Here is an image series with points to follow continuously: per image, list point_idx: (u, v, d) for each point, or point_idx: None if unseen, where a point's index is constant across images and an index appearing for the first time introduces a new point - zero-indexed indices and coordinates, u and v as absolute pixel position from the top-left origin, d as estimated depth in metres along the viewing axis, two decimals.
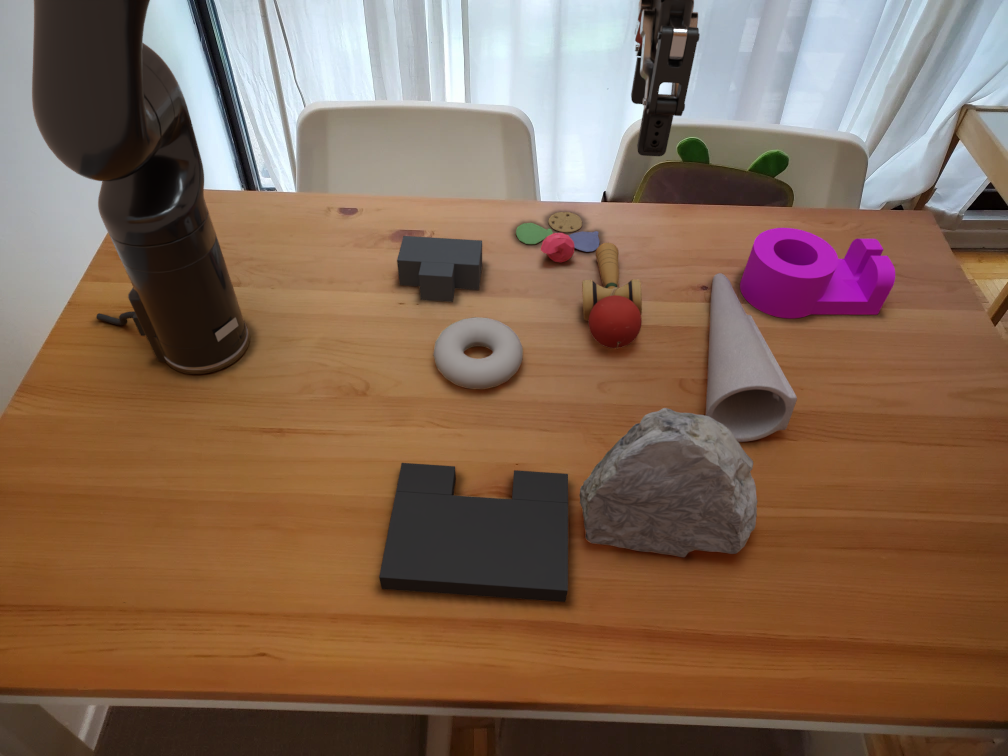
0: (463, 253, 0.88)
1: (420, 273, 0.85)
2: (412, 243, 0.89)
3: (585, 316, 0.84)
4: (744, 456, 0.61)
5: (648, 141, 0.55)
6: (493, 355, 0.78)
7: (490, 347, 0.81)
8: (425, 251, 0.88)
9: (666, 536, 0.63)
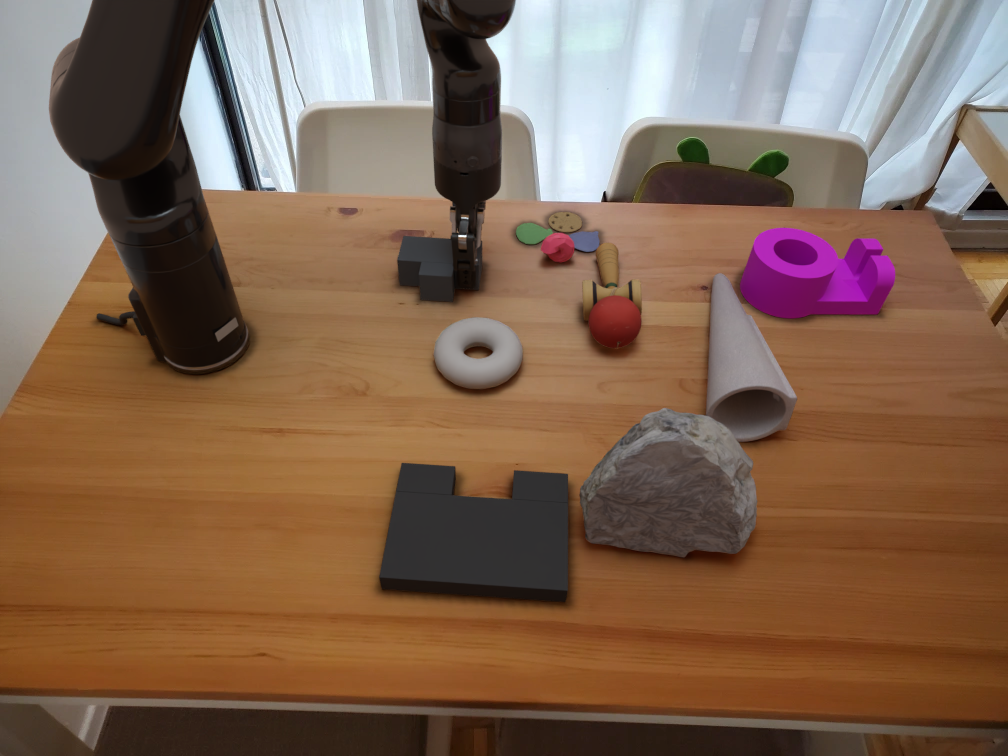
0: None
1: (420, 273, 0.85)
2: (412, 243, 0.89)
3: (585, 316, 0.84)
4: (744, 456, 0.61)
5: (461, 281, 0.87)
6: (493, 355, 0.78)
7: (490, 347, 0.81)
8: (425, 251, 0.88)
9: (666, 536, 0.63)
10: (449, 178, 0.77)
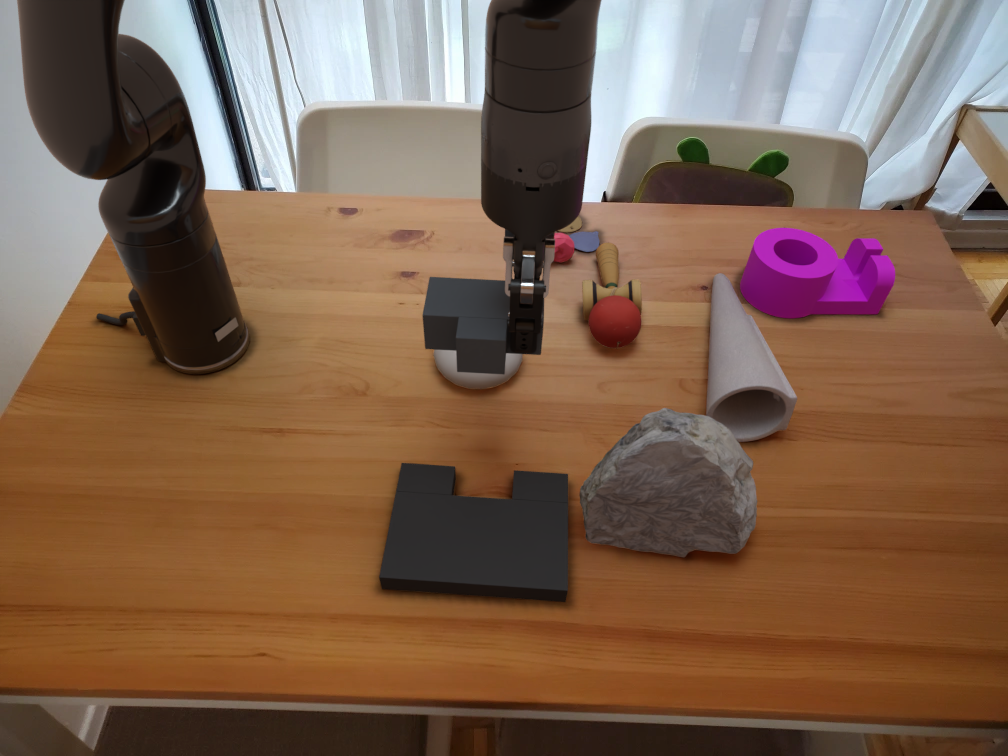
0: None
1: (458, 335, 0.57)
2: (443, 288, 0.61)
3: (585, 316, 0.84)
4: (744, 456, 0.61)
5: (517, 345, 0.59)
6: None
7: None
8: (464, 300, 0.60)
9: (666, 536, 0.63)
10: (508, 196, 0.49)
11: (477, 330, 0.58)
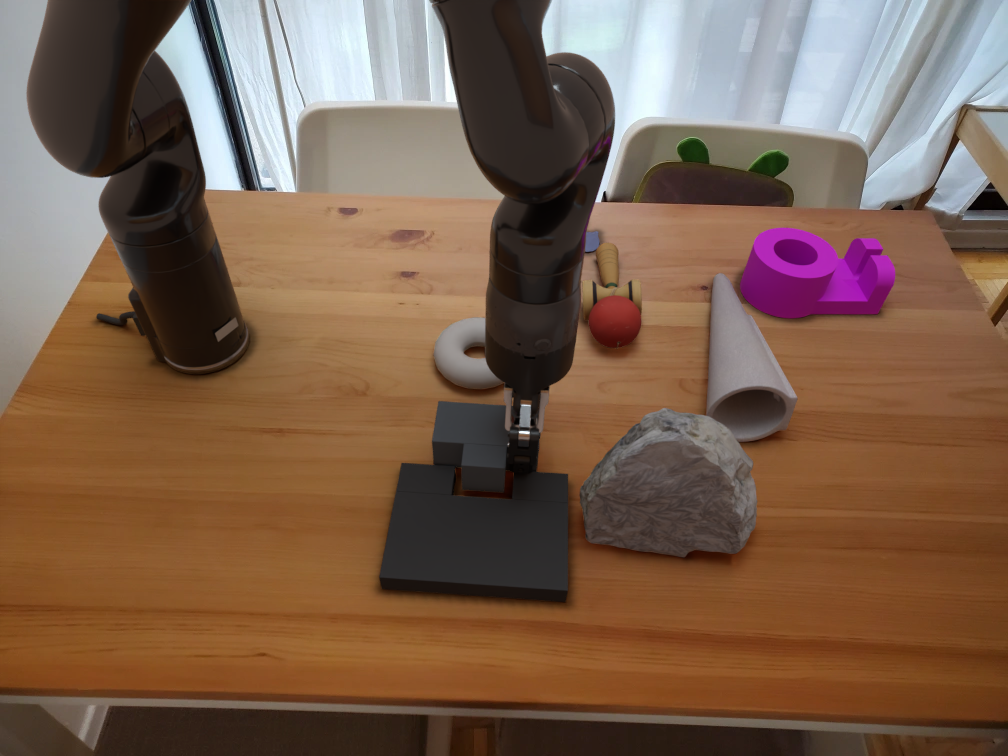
0: None
1: (463, 463, 0.65)
2: (450, 413, 0.69)
3: (585, 316, 0.84)
4: (744, 456, 0.61)
5: (515, 468, 0.67)
6: None
7: None
8: (468, 426, 0.68)
9: (666, 536, 0.63)
10: (508, 361, 0.57)
11: (480, 457, 0.65)
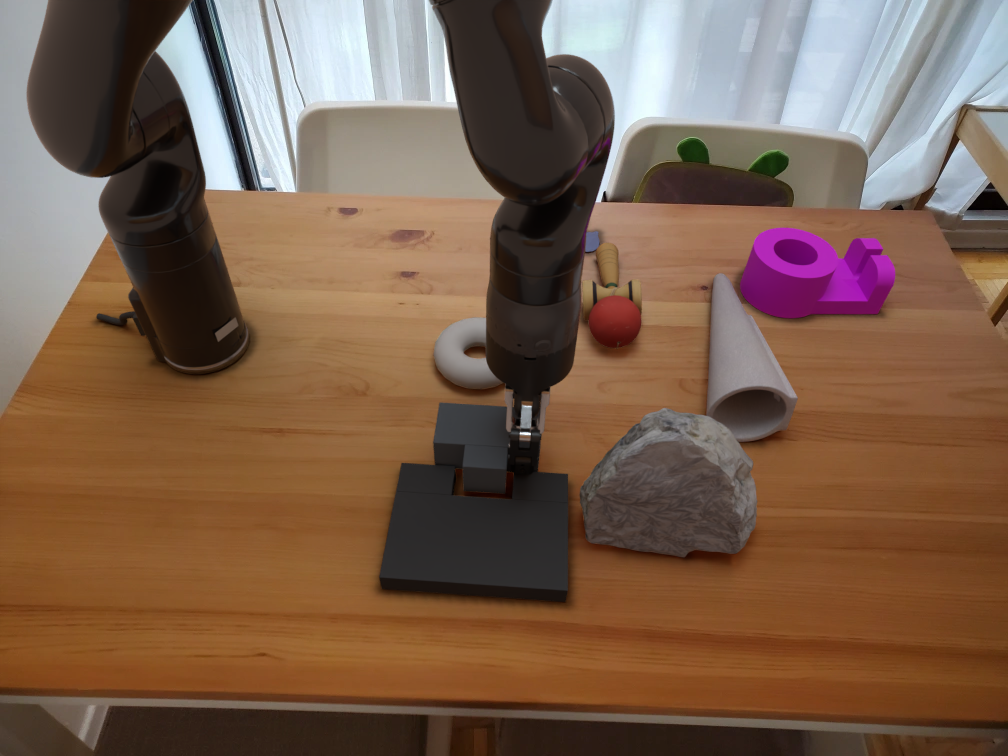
0: None
1: (464, 464, 0.65)
2: (451, 414, 0.69)
3: (585, 316, 0.84)
4: (744, 456, 0.61)
5: (516, 469, 0.67)
6: None
7: None
8: (469, 427, 0.68)
9: (666, 536, 0.63)
10: (509, 362, 0.57)
11: (481, 458, 0.66)
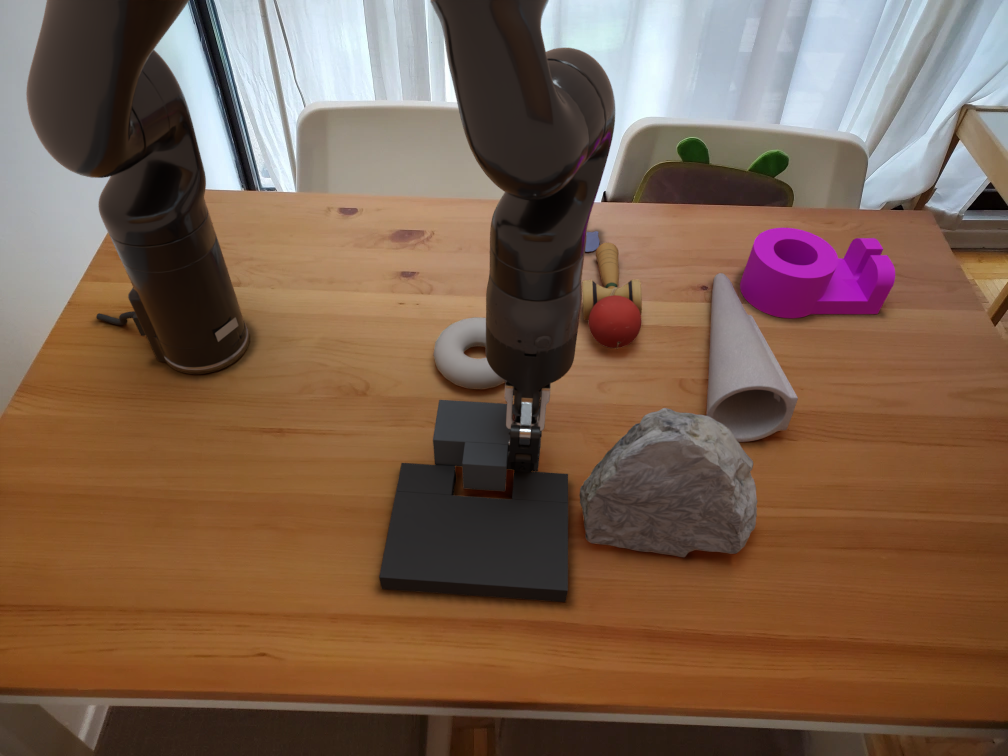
0: None
1: (464, 461, 0.65)
2: (451, 412, 0.69)
3: (585, 316, 0.84)
4: (744, 456, 0.61)
5: (516, 466, 0.67)
6: None
7: None
8: (469, 425, 0.68)
9: (666, 536, 0.63)
10: (509, 358, 0.57)
11: (481, 456, 0.65)
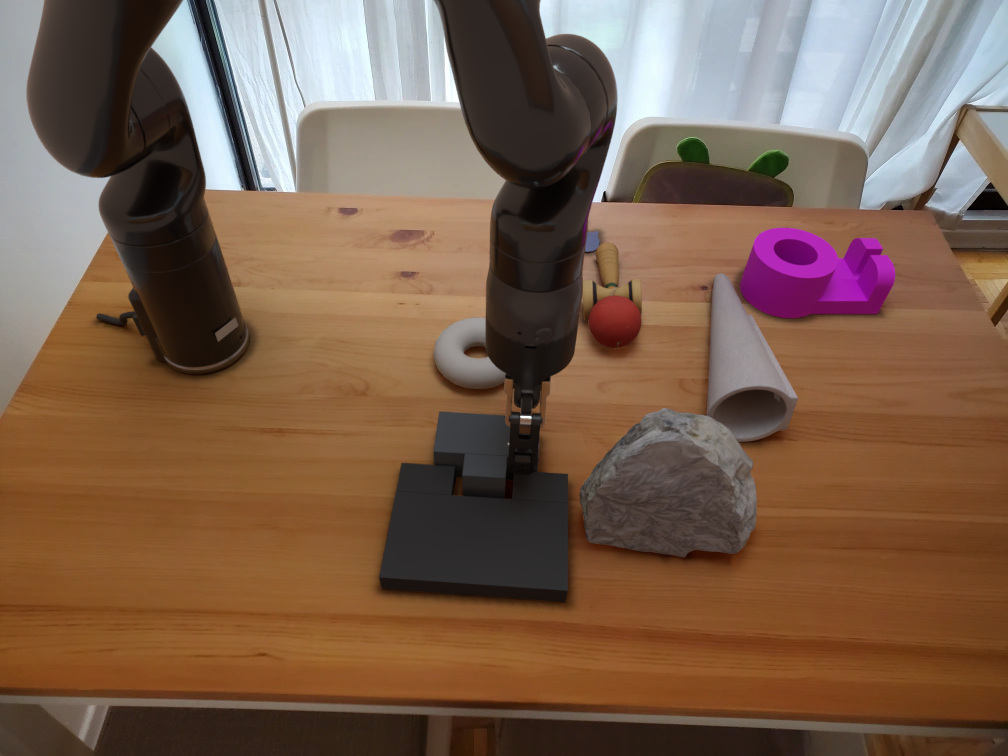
0: None
1: (464, 473, 0.66)
2: (451, 423, 0.70)
3: (585, 316, 0.84)
4: (744, 456, 0.61)
5: (516, 469, 0.64)
6: None
7: None
8: (469, 436, 0.69)
9: (666, 536, 0.63)
10: (509, 351, 0.56)
11: (481, 467, 0.67)
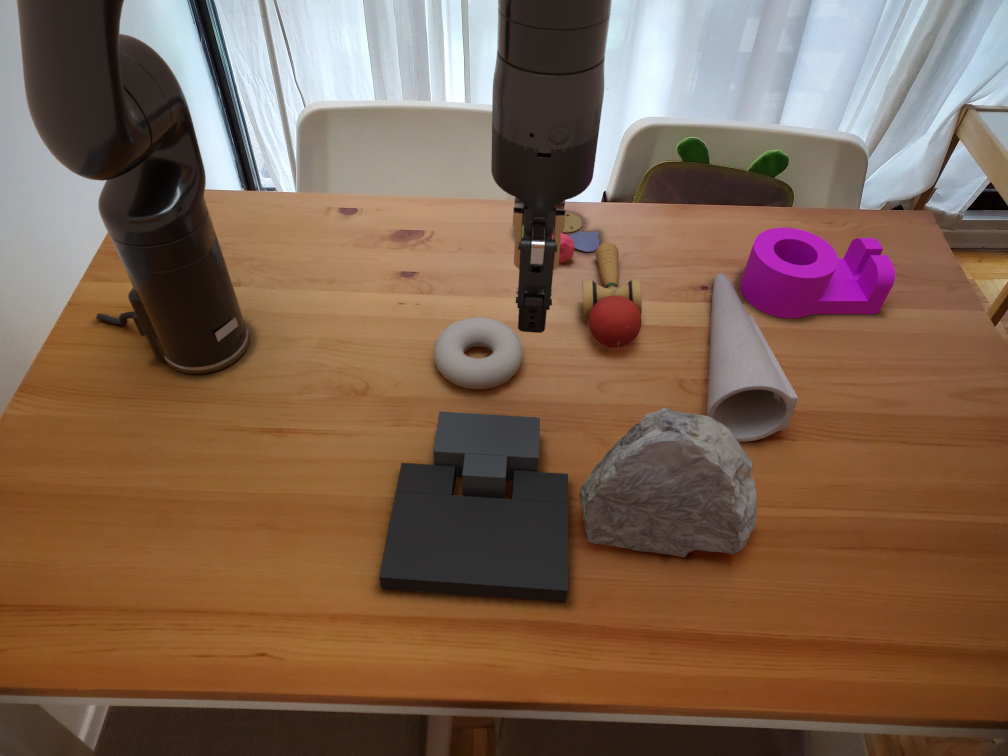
0: (517, 439, 0.69)
1: (464, 473, 0.66)
2: (451, 423, 0.70)
3: (585, 316, 0.84)
4: (744, 456, 0.61)
5: (525, 323, 0.57)
6: (493, 355, 0.78)
7: (490, 347, 0.81)
8: (469, 436, 0.69)
9: (666, 536, 0.63)
10: (519, 162, 0.49)
11: (481, 467, 0.67)
